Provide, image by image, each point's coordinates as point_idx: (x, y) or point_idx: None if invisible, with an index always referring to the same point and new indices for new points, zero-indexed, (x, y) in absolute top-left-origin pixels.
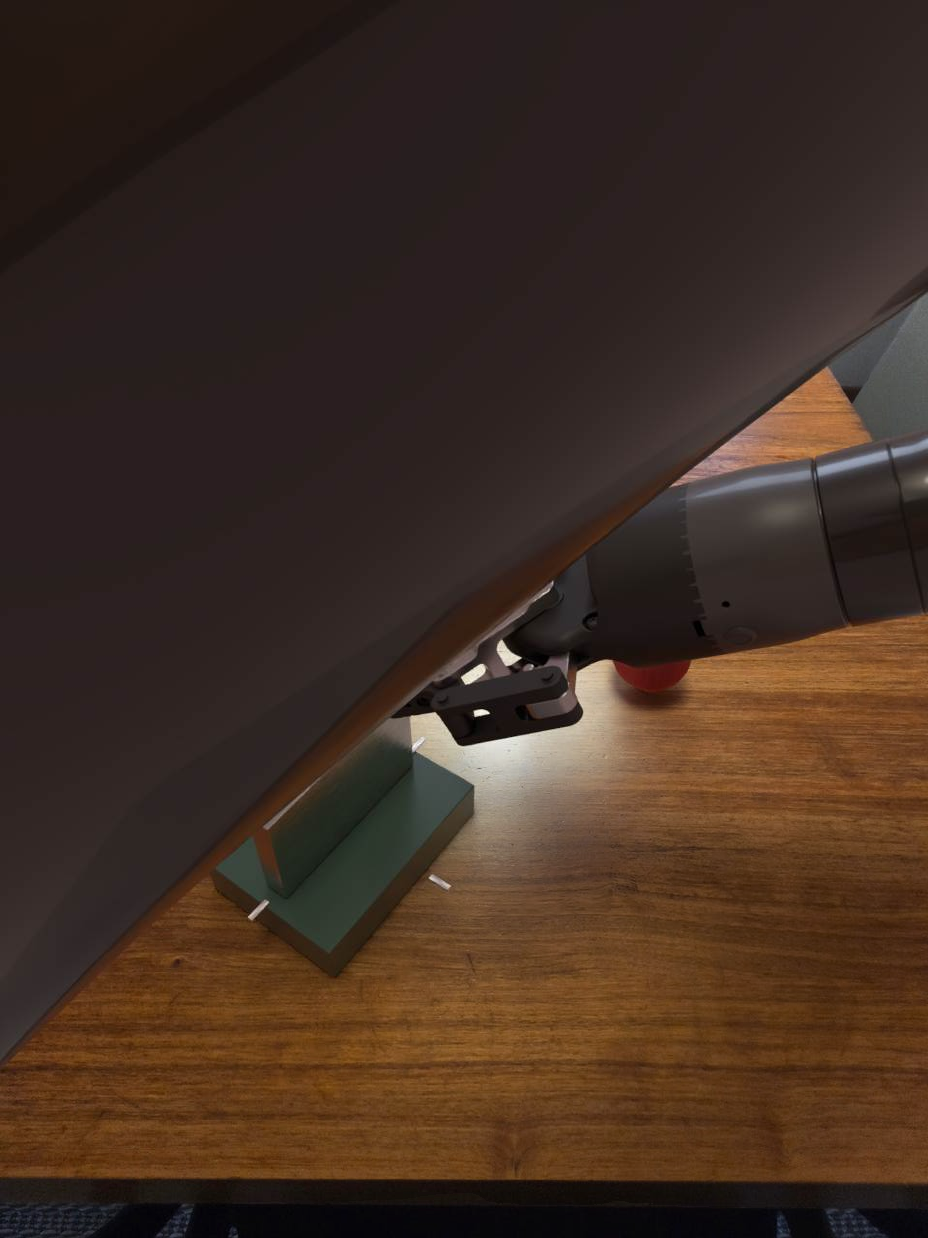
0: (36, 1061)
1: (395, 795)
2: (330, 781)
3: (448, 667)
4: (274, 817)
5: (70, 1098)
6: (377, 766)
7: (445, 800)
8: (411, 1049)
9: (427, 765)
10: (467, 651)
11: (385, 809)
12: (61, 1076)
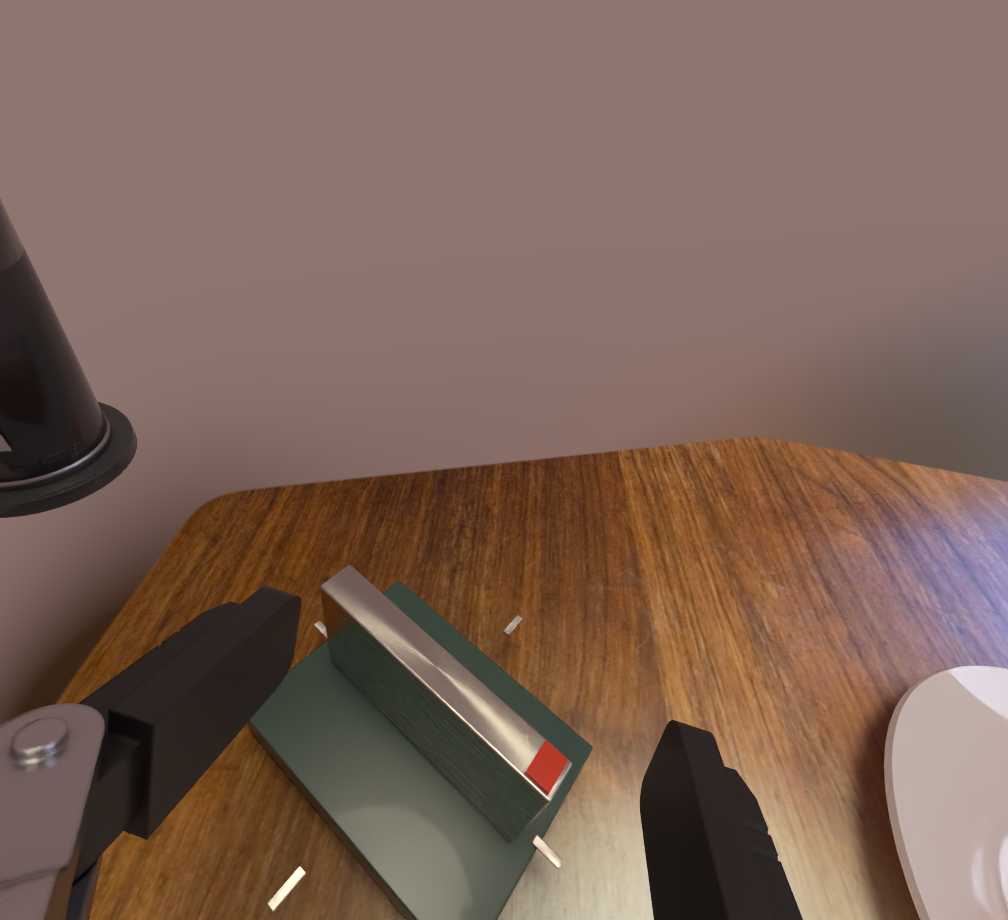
0: (278, 499)
1: (457, 809)
2: (397, 671)
3: (21, 772)
4: (335, 593)
5: (238, 520)
6: (461, 762)
7: (438, 906)
8: (115, 839)
9: (509, 871)
10: (3, 867)
11: (434, 791)
12: (259, 513)
